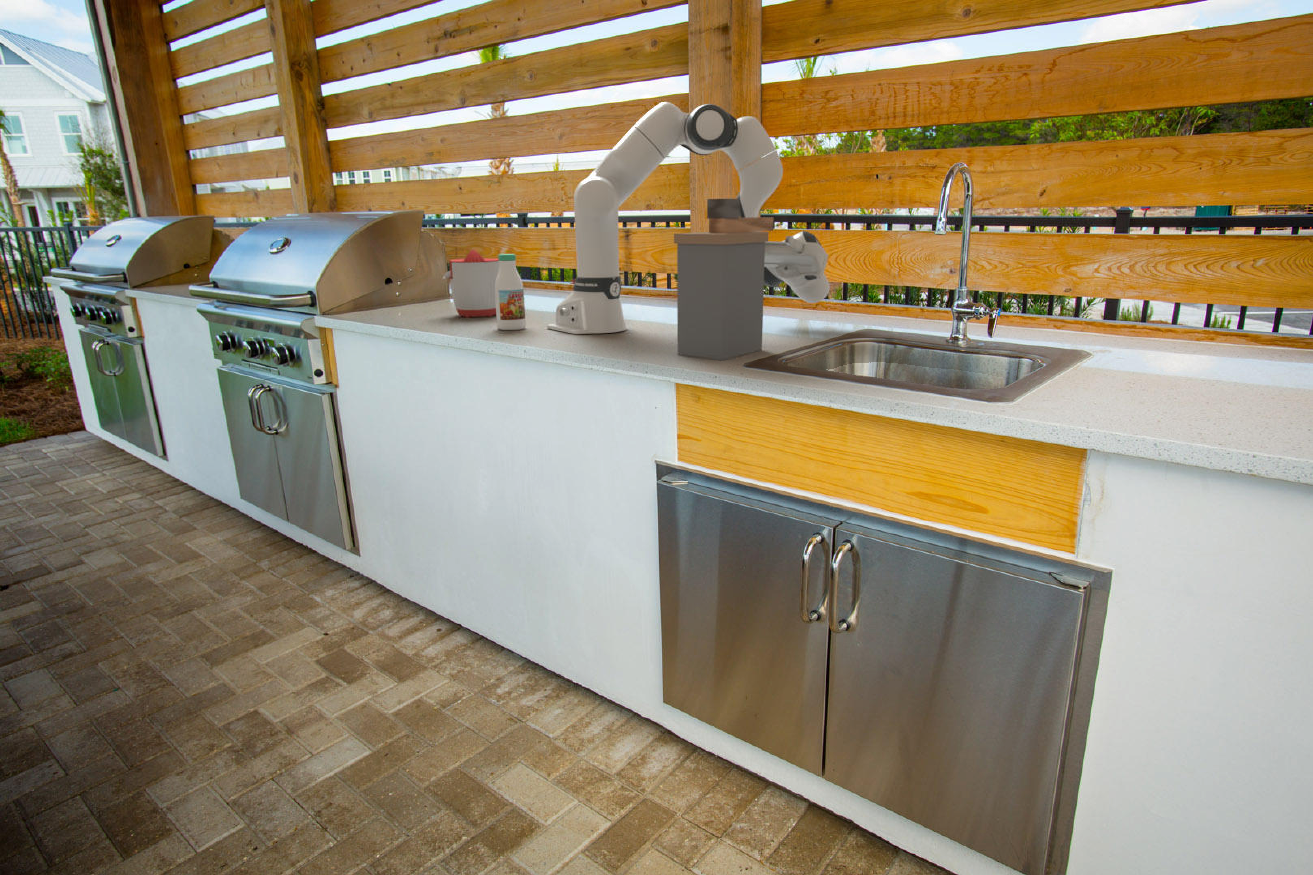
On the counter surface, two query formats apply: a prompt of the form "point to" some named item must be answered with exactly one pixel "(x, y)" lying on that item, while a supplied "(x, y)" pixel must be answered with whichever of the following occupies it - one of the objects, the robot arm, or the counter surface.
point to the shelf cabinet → (720, 293)
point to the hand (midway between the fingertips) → (770, 238)
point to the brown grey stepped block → (733, 218)
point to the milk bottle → (509, 295)
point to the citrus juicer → (473, 284)
